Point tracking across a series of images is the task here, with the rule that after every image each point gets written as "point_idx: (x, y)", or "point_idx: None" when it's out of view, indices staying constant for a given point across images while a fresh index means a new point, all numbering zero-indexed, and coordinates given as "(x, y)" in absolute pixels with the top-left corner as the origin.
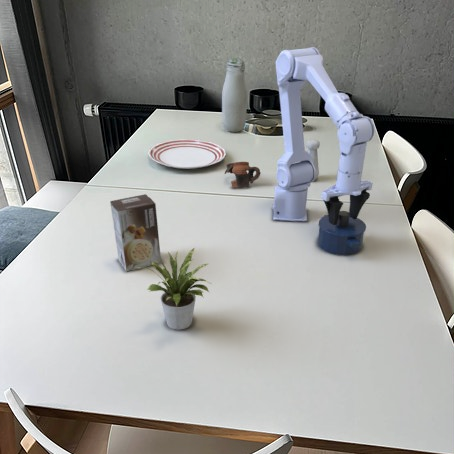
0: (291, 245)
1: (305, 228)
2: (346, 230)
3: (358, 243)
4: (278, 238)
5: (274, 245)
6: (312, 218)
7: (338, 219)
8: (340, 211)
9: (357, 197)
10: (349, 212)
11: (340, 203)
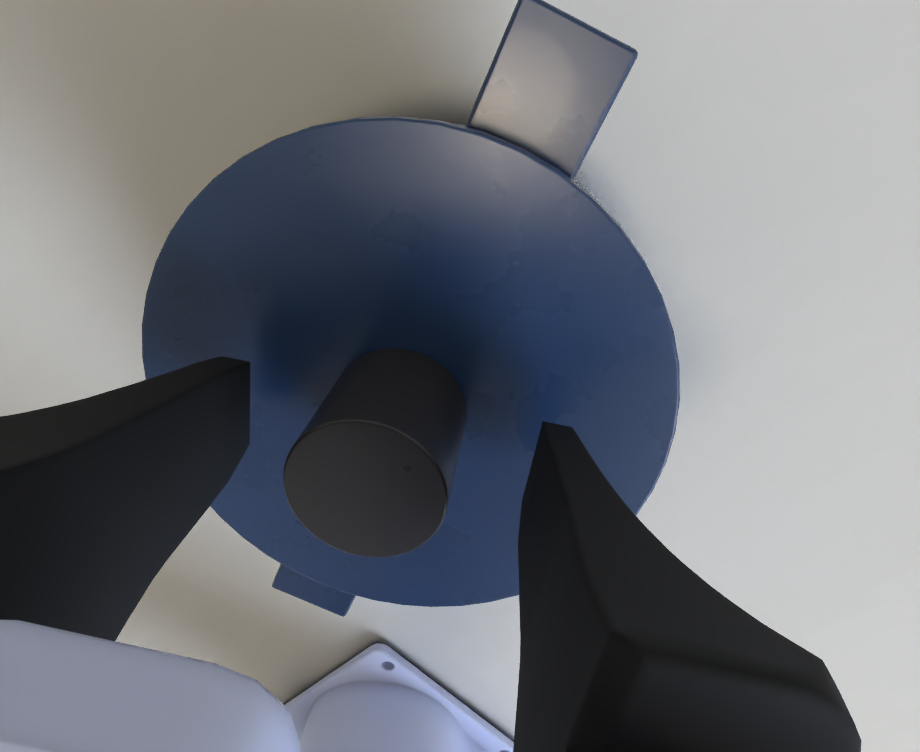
0: (733, 531)
1: None
2: (483, 286)
3: (552, 6)
4: None
5: (818, 599)
6: (311, 639)
7: (455, 467)
8: (363, 545)
9: (19, 594)
10: (226, 478)
11: (733, 676)
